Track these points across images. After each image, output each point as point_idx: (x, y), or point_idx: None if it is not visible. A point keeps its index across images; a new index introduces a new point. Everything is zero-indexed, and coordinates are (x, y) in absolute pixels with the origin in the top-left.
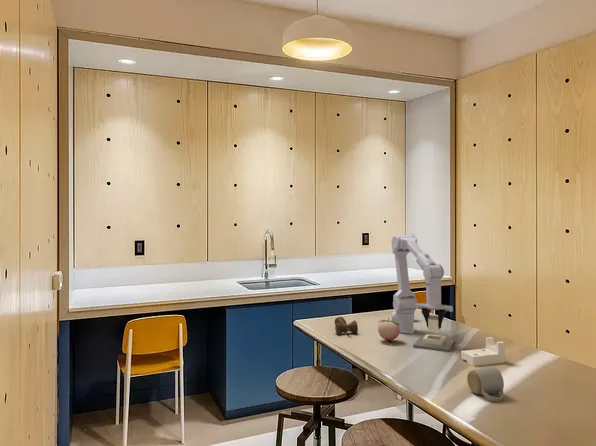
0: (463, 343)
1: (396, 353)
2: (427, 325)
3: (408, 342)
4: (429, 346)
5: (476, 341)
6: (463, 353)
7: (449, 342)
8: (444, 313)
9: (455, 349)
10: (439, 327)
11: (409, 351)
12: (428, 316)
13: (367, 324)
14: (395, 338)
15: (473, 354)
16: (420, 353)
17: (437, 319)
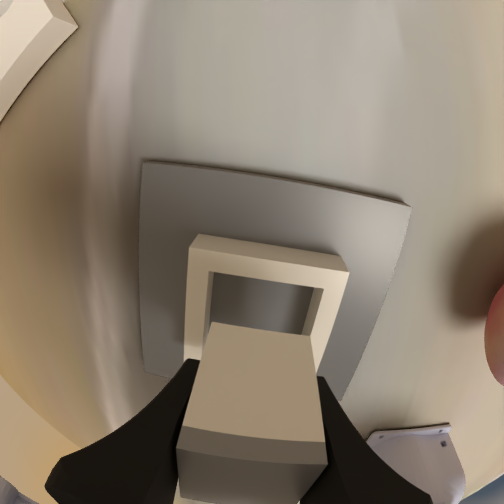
0: (107, 349)
1: (480, 58)
2: (323, 387)
3: (419, 306)
4: (291, 191)
5: (72, 379)
6: (50, 6)
7: (160, 323)
8: (56, 474)
9: (118, 228)
10: (190, 363)
11: (422, 102)
12: (316, 484)
13: (487, 451)
14: (496, 294)
15: (11, 6)
16: (348, 65)
17: (190, 432)
